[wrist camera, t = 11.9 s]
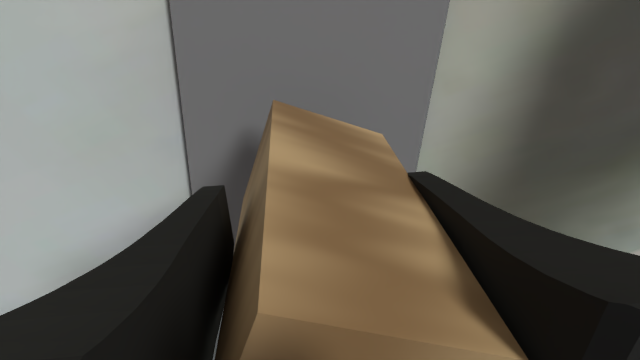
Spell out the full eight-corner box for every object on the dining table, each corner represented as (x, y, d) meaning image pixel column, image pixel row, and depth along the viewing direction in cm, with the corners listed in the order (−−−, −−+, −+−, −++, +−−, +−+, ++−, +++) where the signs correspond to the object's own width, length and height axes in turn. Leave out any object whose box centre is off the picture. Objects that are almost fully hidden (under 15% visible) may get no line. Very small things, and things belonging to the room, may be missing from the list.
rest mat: (448, -13, 14) (452, -13, 14) (398, 246, 19) (400, 251, 19) (168, -32, 13) (165, -32, 12) (200, 248, 18) (198, 253, 18)
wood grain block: (382, 134, 13) (566, 418, 5) (342, 223, 15) (423, 554, 6) (273, 99, 12) (253, 374, 4) (243, 199, 14) (181, 548, 5)
